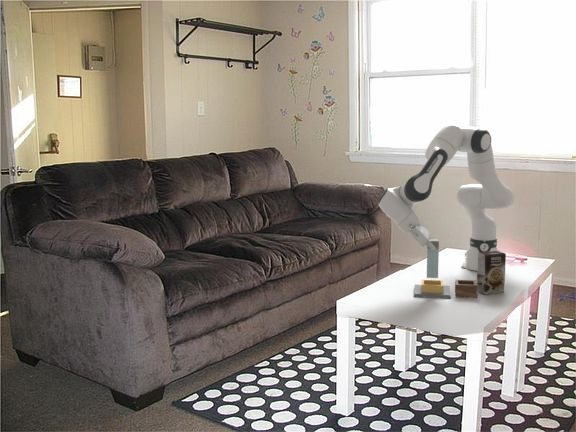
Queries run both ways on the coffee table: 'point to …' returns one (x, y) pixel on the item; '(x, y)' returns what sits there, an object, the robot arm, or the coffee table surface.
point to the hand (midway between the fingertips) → (434, 247)
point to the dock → (432, 289)
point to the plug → (433, 259)
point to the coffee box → (491, 272)
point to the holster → (466, 288)
